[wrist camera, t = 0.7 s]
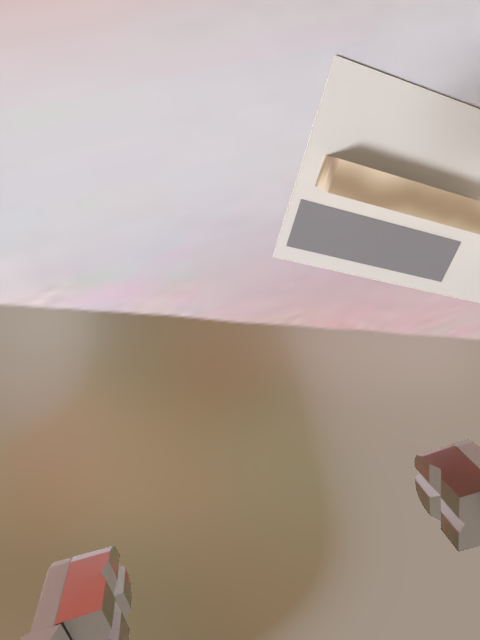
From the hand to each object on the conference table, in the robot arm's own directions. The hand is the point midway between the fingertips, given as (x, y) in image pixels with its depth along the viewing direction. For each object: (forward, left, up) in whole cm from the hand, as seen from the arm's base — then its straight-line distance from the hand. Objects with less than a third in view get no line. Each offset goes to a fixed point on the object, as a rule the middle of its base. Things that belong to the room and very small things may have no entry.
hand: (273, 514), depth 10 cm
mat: (-8, +28, -34) cm, 44 cm away
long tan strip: (-8, +20, -34) cm, 40 cm away
